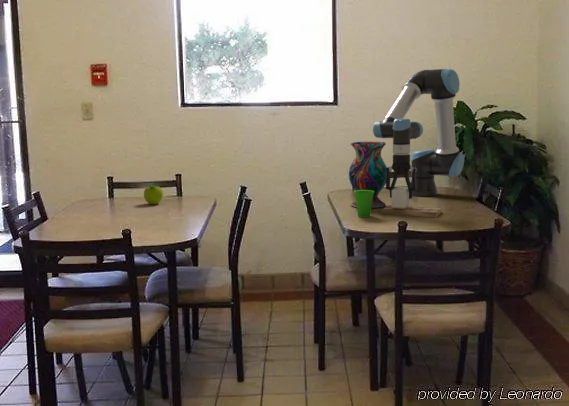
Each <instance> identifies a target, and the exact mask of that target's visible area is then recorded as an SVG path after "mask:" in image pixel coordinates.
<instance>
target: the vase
mask: <svg viewBox="0 0 569 406" xmlns="http://www.w3.org/2000/svg"><path fill="white" fill-rule="evenodd" d="M350 146H351V147H352V148H353V149H354V151H355V156H354V159H353V161H352V162H351V164H350V166H349V170H348V178H349V179H348V180H349V183H350V185H351V186H352V188H353V189H354V191H356V190H372V191H374V194H373V200H372V207H371V209H374V208H375V209H376V208H381V207H386V205H387V204H386V203H385V202H384V201H382V200H381V199H380V198H379V197H378V195H379V194H380V192H381V191H382V190H383V189H384V187H386V178H387V171H386V168H387V167H388V166H387V164H386V163H385V161H384V159H383V157H382V150H383V149H384V147H385V146H386V142H384V141H355V142H351V143H350ZM350 206H352V207H354V208H357V205H356V200H354V201H353V202H351V203H350Z"/></svg>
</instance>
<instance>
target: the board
mask: <svg viewBox="0 0 569 406" xmlns="http://www.w3.org/2000/svg"><path fill="white" fill-rule="evenodd" d="M441 213H442V207H429V206H428V207H425V206H413V205H412V206H411V205H410V206H408V207H407V208H405V209H401V208H392V204H391V205H390V204H388V205H387V206H384V208H382V209H381V215H388V214H391V216H404V217H405V216H408V217H424V218H425V217H426V218H437V217H439V215H440V214H441Z"/></svg>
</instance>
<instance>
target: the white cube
mask: <svg viewBox="0 0 569 406" xmlns="http://www.w3.org/2000/svg"><path fill="white" fill-rule="evenodd" d="M408 191H409V190H408V187H406V186H397V187H394V189H393V190H392V198H391V205H392V208H401V209H405V208H407V207H408V206H407V192H408Z"/></svg>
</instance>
